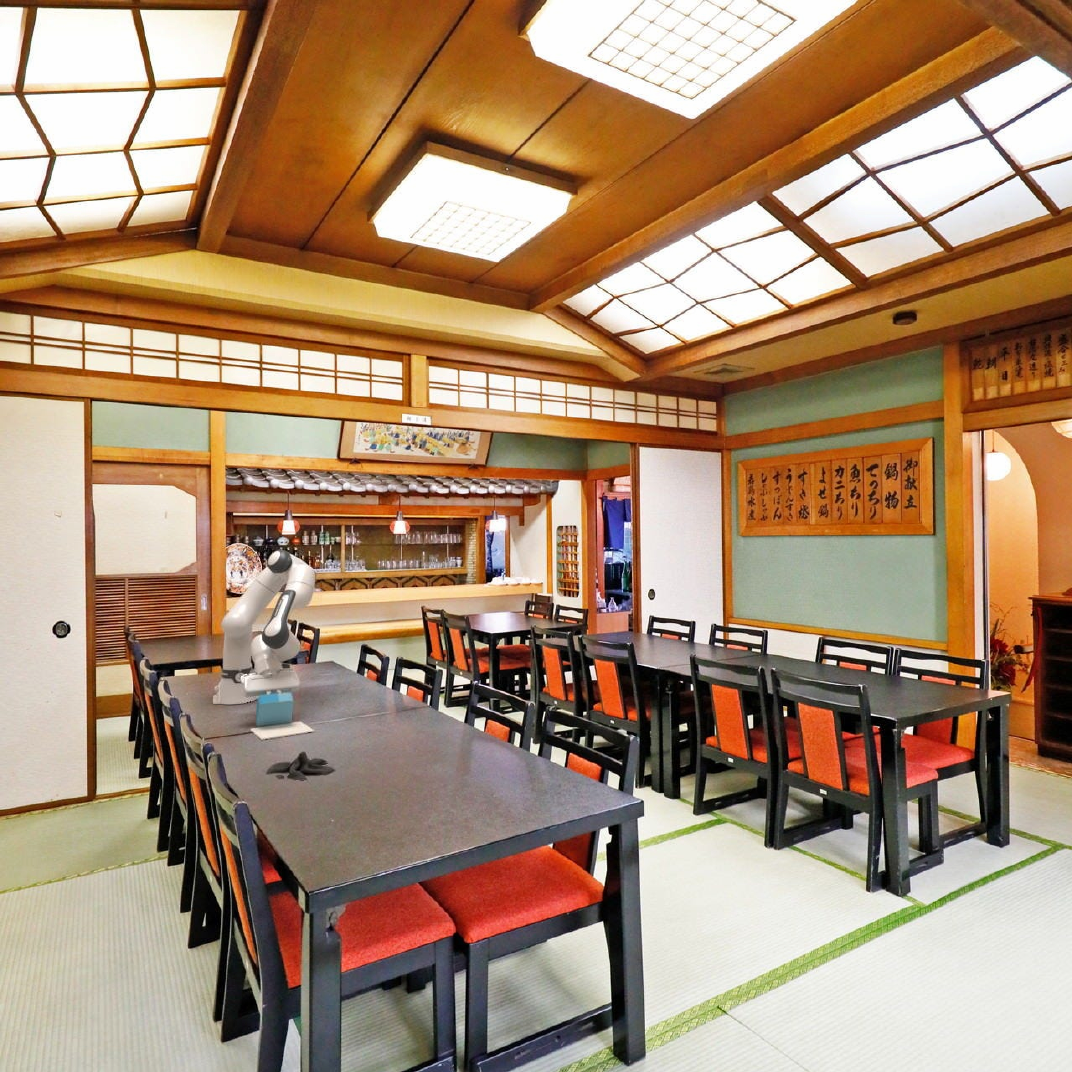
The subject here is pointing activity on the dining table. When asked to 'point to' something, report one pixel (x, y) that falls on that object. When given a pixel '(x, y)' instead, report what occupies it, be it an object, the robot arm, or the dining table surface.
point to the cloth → (300, 768)
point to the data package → (274, 709)
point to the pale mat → (281, 730)
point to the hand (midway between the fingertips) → (275, 702)
